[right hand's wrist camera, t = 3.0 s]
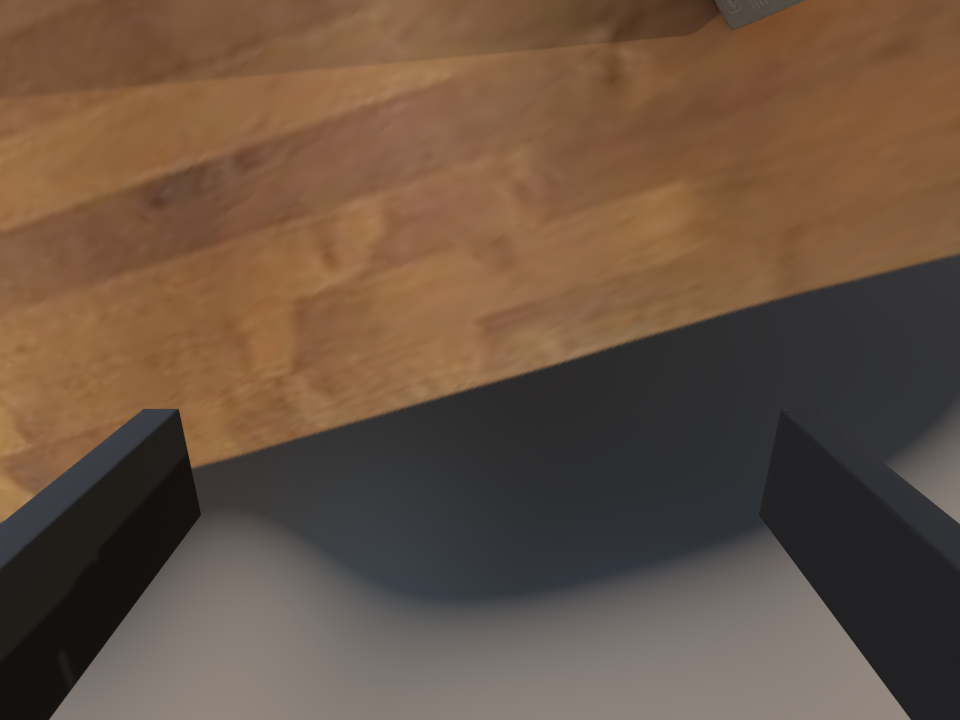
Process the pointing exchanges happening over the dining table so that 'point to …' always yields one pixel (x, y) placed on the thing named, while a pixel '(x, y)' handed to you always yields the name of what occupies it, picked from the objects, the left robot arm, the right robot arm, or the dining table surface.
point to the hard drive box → (750, 10)
